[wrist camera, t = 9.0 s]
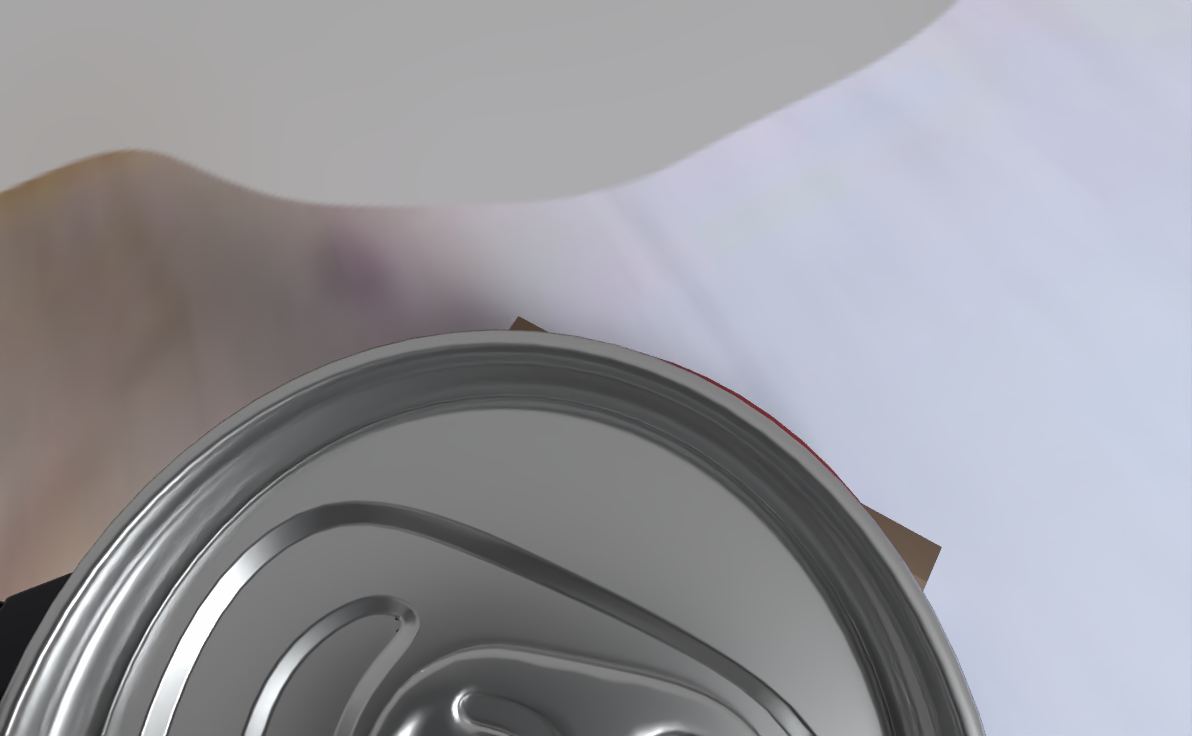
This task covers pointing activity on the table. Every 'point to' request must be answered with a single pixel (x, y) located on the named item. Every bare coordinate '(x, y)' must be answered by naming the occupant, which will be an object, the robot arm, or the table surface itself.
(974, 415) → the table surface
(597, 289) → the table surface
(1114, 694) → the table surface
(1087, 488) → the table surface
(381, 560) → the soda can
